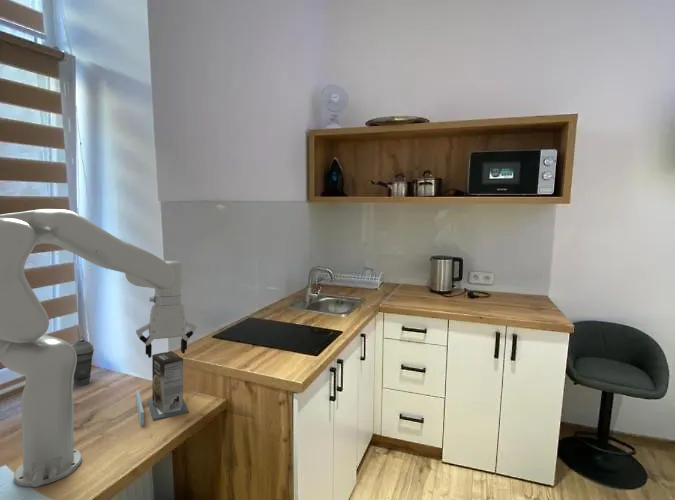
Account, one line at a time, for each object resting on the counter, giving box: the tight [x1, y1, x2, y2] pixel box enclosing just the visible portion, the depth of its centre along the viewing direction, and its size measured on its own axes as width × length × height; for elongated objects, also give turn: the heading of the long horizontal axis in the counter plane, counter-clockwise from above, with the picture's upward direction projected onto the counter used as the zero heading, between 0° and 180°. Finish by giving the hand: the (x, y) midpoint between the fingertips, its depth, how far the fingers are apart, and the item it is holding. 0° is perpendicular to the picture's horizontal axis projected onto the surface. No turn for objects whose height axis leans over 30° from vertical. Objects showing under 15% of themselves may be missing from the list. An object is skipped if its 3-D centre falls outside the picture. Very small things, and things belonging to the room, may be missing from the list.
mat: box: [147, 399, 189, 421], centre depth 119 cm, size 13×10×1 cm
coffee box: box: [151, 350, 184, 414], centre depth 118 cm, size 9×6×16 cm
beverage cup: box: [71, 328, 95, 387], centre depth 132 cm, size 7×7×20 cm
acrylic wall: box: [135, 389, 145, 427], centre depth 114 cm, size 16×1×4 cm, turn 33°
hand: (166, 354), depth 117 cm, fingers open, 9 cm apart
